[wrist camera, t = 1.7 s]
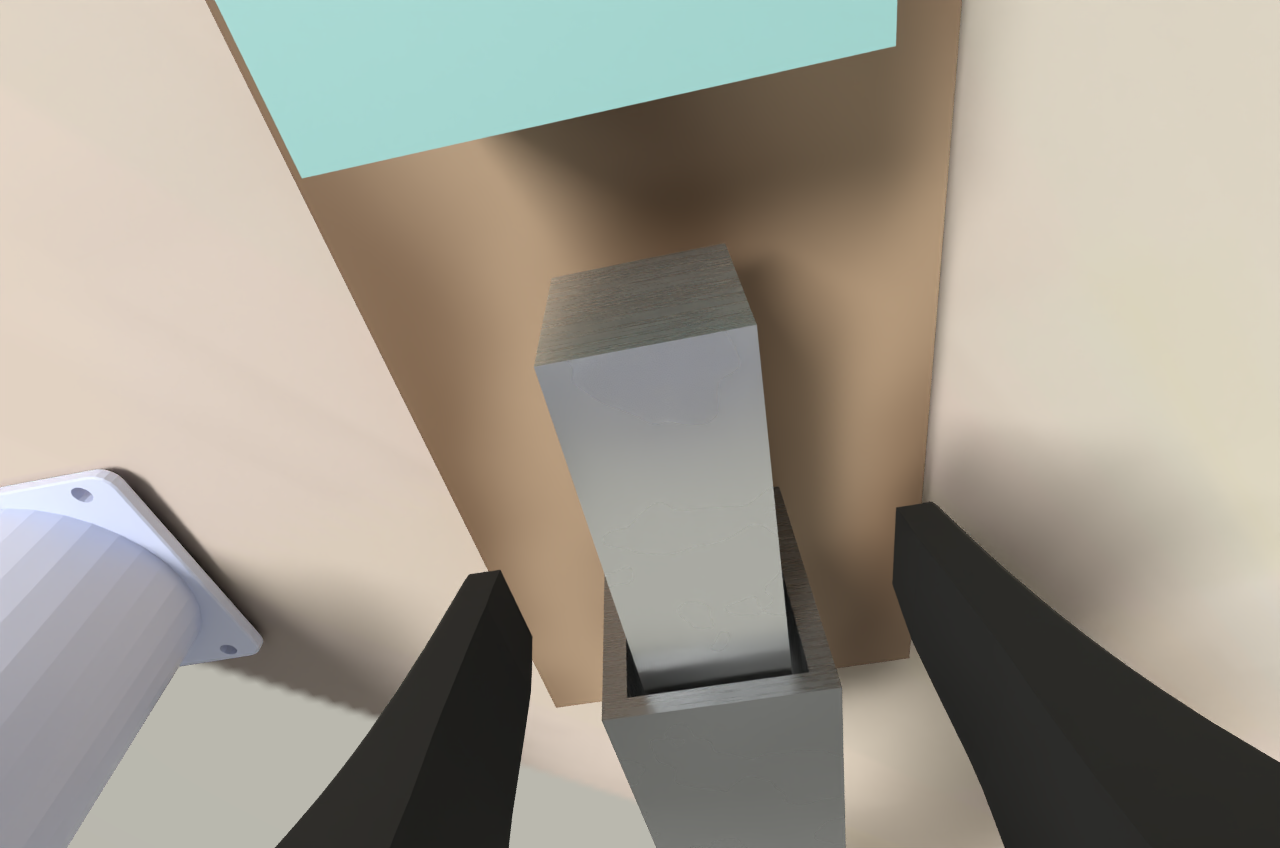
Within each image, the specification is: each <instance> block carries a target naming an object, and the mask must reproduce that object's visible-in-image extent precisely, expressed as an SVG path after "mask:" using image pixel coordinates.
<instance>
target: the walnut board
mask: <svg viewBox="0 0 1280 848" xmlns="http://www.w3.org/2000/svg"><path fill="white" fill-rule="evenodd" d="M205 1H206V3H207V5H208V7H209V9H210V11H211V13H212V15H213V17H214V19H215V21H216V23H217V25H218V27H219V29H220V31H221V33H222V35H223V37H224V39H225V41H226V43H227V45H228V47H229V49H230V51H231V53H232V55H233V57H234V59H235V61H236V63H237V65H238V67H239V69H240V71H241V73H242V75H243V77H244V79H245V81H246V83H247V85H248V87H249V89H250V91H251V93H252V95H253V97H254V99H255V101H256V103H257V105H258V107H259V110H260V112H261V114H262V116H263V118H264V120H265V122H266V124H267V126H268V128H269V130H270V132H271V134H272V136H273V138H274V140H275V142H276V144H277V146H278V148H279V150H280V152H281V154H282V156H283V158H284V160H285V162H286V164H287V166H288V168H289V170H290V172H291V174H292V176H293V178H294V180H295V182H296V184H297V186H298V188H299V190H300V192H301V194H302V196H303V198H304V200H305V202H306V204H307V206H308V208H309V210H310V212H311V214H312V216H313V218H314V220H315V222H316V224H317V226H318V228H319V230H320V232H321V234H322V237H323V239H324V241H325V243H326V245H327V247H328V249H329V251H330V253H331V255H332V257H333V259H334V261H335V263H336V265H337V267H338V269H339V271H340V273H341V275H342V277H343V279H344V281H345V283H346V285H347V287H348V289H349V291H350V293H351V295H352V297H353V299H354V301H355V303H356V305H357V307H358V309H359V311H360V313H361V315H362V317H363V319H364V321H365V323H366V325H367V327H368V329H369V331H370V333H371V335H372V337H373V339H374V341H375V343H376V345H377V347H378V349H379V351H380V353H381V355H382V357H383V359H384V361H385V363H386V366H387V368H388V370H389V372H390V374H391V376H392V378H393V380H394V382H395V384H396V386H397V388H398V390H399V392H400V394H401V396H402V398H403V400H404V402H405V404H406V406H407V408H408V410H409V412H410V414H411V416H412V418H413V420H414V422H415V424H416V426H417V428H418V430H419V432H420V434H421V436H422V438H423V440H424V442H425V444H426V446H427V448H428V450H429V452H430V454H431V456H432V458H433V460H434V462H435V464H436V466H437V468H438V470H439V472H440V474H441V476H442V478H443V480H444V482H445V484H446V486H447V488H448V490H449V493H450V495H451V497H452V499H453V501H454V503H455V505H456V507H457V509H458V511H459V513H460V515H461V517H462V519H463V521H464V523H465V525H466V527H467V529H468V531H469V533H470V535H471V537H472V539H473V541H474V543H475V545H476V547H477V549H478V551H479V553H480V555H481V557H482V559H483V561H484V563H485V565H486V567H487V569H488V571H495V570H501V572H502V574H503V576H504V578H505V580H506V582H507V584H508V587H509V589H510V591H511V593H512V595H513V597H514V599H515V601H516V603H517V605H518V607H519V609H520V612H521V614H522V616H523V618H524V620H525V622H526V624H527V626H528V628H529V630H530V632H531V634H532V637H533V639H532V660H533V662H534V664H535V666H536V668H537V670H538V672H539V674H540V676H541V678H542V680H543V682H544V684H545V686H546V688H547V690H548V692H549V694H550V696H551V698H552V700H553V702H554V704H555V706H556V708H557V707H564V706H571V705H578V704H586V703H593V702H600V701H602V687H603V630H604V571H603V568H602V565H601V562H600V560H599V557H598V554H597V551H596V548H595V545H594V542H593V539H592V536H591V533H590V530H589V527H588V524H587V521H586V519H585V516H584V513H583V510H582V507H581V504H580V501H579V498H578V495H577V492H576V489H575V486H574V483H573V480H572V477H571V475H570V472H569V469H568V466H567V463H566V460H565V457H564V454H563V451H562V448H561V445H560V442H559V439H558V436H557V434H556V431H555V428H554V425H553V422H552V419H551V416H550V413H549V410H548V407H547V404H546V401H545V398H544V395H543V392H542V390H541V387H540V384H539V381H538V378H537V375H536V372H535V369H534V363H535V358H536V353H537V348H538V343H539V338H540V334H541V329H542V324H543V319H544V314H545V309H546V304H547V299H548V294H549V289H550V284H551V279H552V278H553V277H558V276H563V275H568V274H573V273H578V272H583V271H588V270H593V269H598V268H602V267H607V266H612V265H617V264H622V263H627V262H632V261H637V260H642V259H647V258H652V257H657V256H662V255H667V254H672V253H677V252H682V251H687V250H692V249H697V248H702V247H707V246H712V245H717V244H722V243H725V244H726V247H727V249H728V252H729V255H730V257H731V260H732V262H733V265H734V267H735V270H736V273H737V275H738V278H739V280H740V283H741V285H742V288H743V291H744V293H745V296H746V298H747V301H748V303H749V306H750V309H751V311H752V314H753V316H754V319H755V321H756V324H757V332H758V342H759V352H760V362H761V372H762V381H763V391H764V401H765V411H766V421H767V431H768V441H769V451H770V461H771V470H772V480H773V487H778V486H779V488H780V491H781V494H782V497H783V500H784V504H785V507H786V510H787V513H788V516H789V520H790V523H791V526H792V529H793V533H794V536H795V539H796V542H797V545H798V549H799V552H800V555H801V558H802V561H803V565H804V568H805V571H806V574H807V577H808V581H809V584H810V587H811V590H812V594H813V597H814V600H815V603H816V606H817V610H818V613H819V616H820V619H821V622H822V626H823V629H824V632H825V635H826V638H827V642H828V645H829V648H830V651H831V655H832V658H833V661H834V664H835V667H836V668H842V667H849V666H856V665H863V664H870V663H877V662H884V661H891V660H898V659H906V658H909V654H910V642H911V636H910V634H909V631H908V628H907V625H906V622H905V620H904V617H903V614H902V611H901V608H900V605H899V602H898V599H897V596H896V593H895V591H894V588H893V585H892V580H893V560H894V539H895V519H896V507H902V506H909V505H915V504H921V503H922V492H923V480H924V467H925V455H926V442H927V430H928V417H929V405H930V392H931V380H932V367H933V355H934V342H935V330H936V317H937V305H938V292H939V280H940V267H941V255H942V243H943V230H944V218H945V205H946V193H947V180H948V168H949V155H950V143H951V130H952V118H953V105H954V93H955V80H956V68H957V55H958V43H959V30H960V18H961V5H962V0H897V28H896V46H894V47H889V48H885V49H880V50H876V51H871V52H867V53H862V54H858V55H853V56H849V57H844V58H840V59H835V60H831V61H826V62H822V63H817V64H813V65H808V66H804V67H799V68H795V69H790V70H786V71H781V72H777V73H773V74H768V75H764V76H759V77H755V78H750V79H746V80H741V81H737V82H732V83H728V84H723V85H719V86H714V87H710V88H705V89H701V90H696V91H692V92H687V93H683V94H678V95H674V96H669V97H665V98H660V99H656V100H651V101H647V102H642V103H638V104H633V105H629V106H625V107H620V108H616V109H611V110H607V111H602V112H598V113H593V114H589V115H584V116H580V117H575V118H571V119H566V120H562V121H557V122H553V123H548V124H544V125H539V126H535V127H530V128H526V129H521V130H517V131H512V132H508V133H503V134H499V135H494V136H490V137H486V138H481V139H477V140H472V141H468V142H463V143H459V144H454V145H450V146H445V147H441V148H436V149H432V150H427V151H423V152H418V153H414V154H409V155H405V156H400V157H396V158H391V159H387V160H382V161H378V162H373V163H369V164H364V165H360V166H355V167H351V168H347V169H342V170H338V171H333V172H329V173H324V174H320V175H315V176H311V177H306V178H301V176H300V173H299V171H298V169H297V167H296V165H295V163H294V161H293V159H292V157H291V155H290V153H289V151H288V149H287V147H286V145H285V143H284V141H283V139H282V137H281V135H280V133H279V131H278V128H277V126H276V124H275V122H274V120H273V118H272V116H271V114H270V112H269V110H268V108H267V106H266V104H265V102H264V100H263V98H262V96H261V94H260V92H259V90H258V88H257V86H256V83H255V81H254V79H253V77H252V75H251V73H250V71H249V69H248V67H247V65H246V63H245V61H244V59H243V57H242V55H241V53H240V51H239V49H238V47H237V45H236V43H235V41H234V38H233V36H232V34H231V32H230V30H229V28H228V26H227V24H226V22H225V20H224V18H223V16H222V14H221V12H220V10H219V8H218V6H217V4H216V2H215V0H205Z"/></svg>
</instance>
